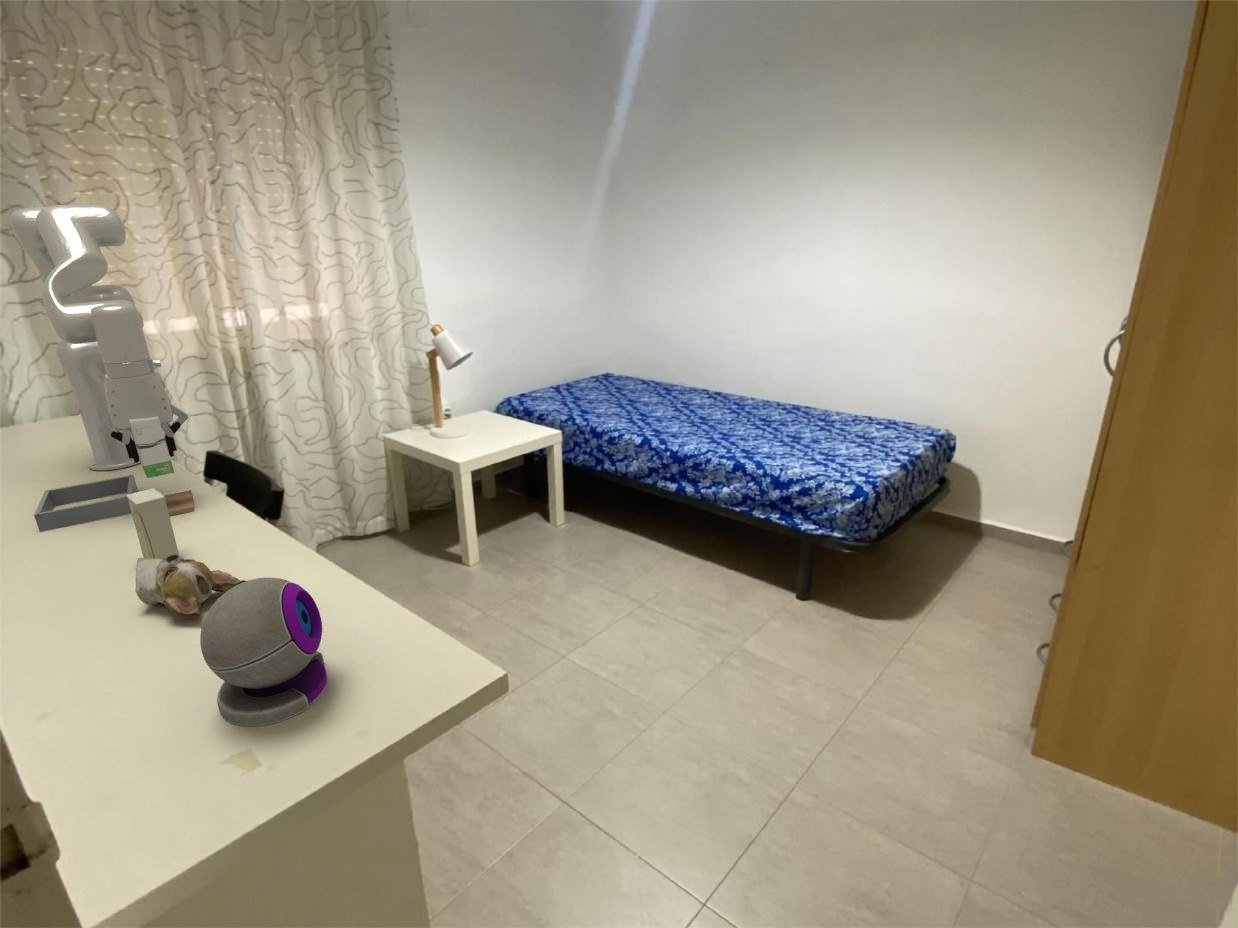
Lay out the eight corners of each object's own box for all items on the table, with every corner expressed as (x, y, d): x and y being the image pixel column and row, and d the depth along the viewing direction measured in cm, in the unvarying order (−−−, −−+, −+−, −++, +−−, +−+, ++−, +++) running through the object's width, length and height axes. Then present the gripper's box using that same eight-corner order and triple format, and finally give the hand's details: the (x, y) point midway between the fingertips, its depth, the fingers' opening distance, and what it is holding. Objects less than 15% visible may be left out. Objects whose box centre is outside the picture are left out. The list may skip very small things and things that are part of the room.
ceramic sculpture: (165, 533, 109) (244, 547, 105) (177, 580, 112) (253, 595, 109) (102, 565, 99) (186, 582, 96) (117, 615, 102) (199, 633, 99)
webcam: (321, 716, 80) (296, 606, 75) (202, 735, 78) (168, 622, 73) (339, 652, 92) (319, 553, 87) (237, 666, 90) (210, 565, 85)
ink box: (175, 473, 137) (160, 416, 133) (146, 479, 134) (129, 421, 130) (169, 462, 143) (154, 408, 139) (141, 468, 141) (125, 413, 137)
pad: (143, 504, 144) (141, 499, 144) (192, 494, 148) (191, 490, 148) (142, 521, 135) (140, 517, 135) (194, 511, 140) (193, 506, 139)
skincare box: (143, 558, 120) (124, 494, 116) (171, 549, 123) (154, 487, 119) (153, 569, 116) (134, 503, 112) (182, 559, 119) (164, 495, 115)
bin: (50, 505, 145) (45, 490, 143) (137, 489, 152) (133, 474, 151) (39, 531, 132) (33, 515, 131) (135, 512, 140) (131, 496, 139)
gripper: (180, 360, 139) (202, 445, 145) (77, 372, 131) (104, 461, 137) (181, 366, 133) (203, 454, 139) (72, 379, 125) (101, 472, 131)
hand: (154, 457), depth 138 cm, fingers closed on ink box, 5 cm apart
